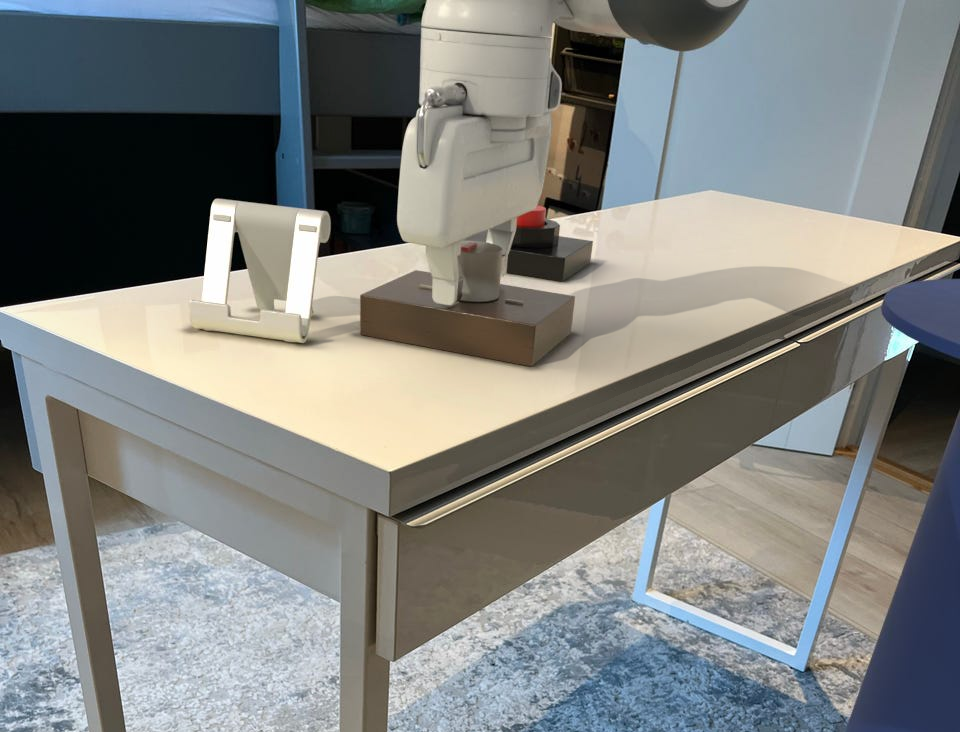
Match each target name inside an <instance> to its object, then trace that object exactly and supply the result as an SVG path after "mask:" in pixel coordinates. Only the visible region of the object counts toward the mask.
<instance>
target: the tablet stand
mask: <svg viewBox="0 0 960 732" xmlns="http://www.w3.org/2000/svg"><path fill="white" fill-rule="evenodd" d="M209 215H210V216H209V225H208V232H207V233H208V234H207V245H206V252H205V253H206V254H205V263H204V275H203V281H202V284H203V285H202V294H201V300H198V299H190V300H189V302H188V307H189V308H188V311H189V312H188V313H189V315H188V316H189V321H190V325H191V327H193V328H194V329H200V330H204V331H209V332H222V333H227V334H229V333H230V334H234V335H235V334H236V335H242V336H250V337H256V338H257V337H258V338H264V339H272V340H279V341H284V342H287V343H300V344H304V343H306V342H307V340H308V338H309V334H310V327H311V326H310V325H311V317H313V316H314V312H315V311H314V308H313V299H314V294H315V293H314V292H315V284H316V275H317V268H318V267H317V266H318V259H319V258H318V257H319V252H320V251H319V250H320V245H321V243H323V244H325V243H327V242H328V241H329V238H330V235H331V229H332V228H331V225H332V223H331V222H332V221H331V216H330V214H329V212H328V211H326V210H320V209H319V210H318V209H310V208H309V209H308V208H300V207H294V206H293V207H292V206H284V205H274V204H268V203H258V202H252V201H251V202H250V201H249V202H248V201H242V200H233V199H225V198H215V199H214V200H213V201H212V203H211V207H210V214H209ZM235 233H237V234H238V238H239V241H240V246H241V250H242V253H243V257H244V262H245V264H246V269H247V273H248V277H249V280H250V285H251V288H252V292H253V295H254V300H255V304H256V307H257V308H258V310H260V311H259V318H251V317H244V316H236V315H232V311H231V306H230V305H229V304H228V296H229V288H230V287H229V285H230V277H231V270H232V269H231V267H232V258H233V248H234V241H235V240H234V239H235ZM276 300H278V301H284V302H285V301H286V302H285V311H279V310H275V301H276Z"/></svg>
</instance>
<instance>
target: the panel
mask: <svg viewBox="0 0 960 732" xmlns="http://www.w3.org/2000/svg"><path fill="white" fill-rule="evenodd" d="M432 284H433V277H432V275H431V272H429V271H423V270H417V269H415V270H413V271H411V272H408V273H406V274H404V275H402V276H399V277H397V278H394V279H393V280H390V281H388V282H386V283H384V284H381V285H379V286H377V287H375V288H373V289H369V290H368V291H366V292H364V293H361V294H360V295H359V315H360V317H359V324H360V325H359V332H360V335H362V336H366V337H372V338H376V339H383V340H387V341H393V342H399V343H402V344H403V343H405V344H410V345H415V346H420V347H425V348H431V349H436V350H442V351H446V352H447V351H448V352H452V353H457V354H462V355H463V354H464V355H468V356H474V357H478V358H484V359H490V360H496V361H501V362H505V363H509V364H510V363H511V364H516V365H523V366H527V367H533V366H534V365H535V364H536V363H537V362H538V361H540V360H541V359H542V358H543V357H544V356H546V355H547V354H549V352H551V351H552V350H553V349H554V348H555V347H557V346H558V345H559V344H561V342H562V341H564V340H565V339H566V338H568V337H569V336H570V335H571V334H572V327H573V319H574V318H573V317H574V311H575V300H576V296H575V295H569V294H564V293H558V292H557V293H556V292H553V291H552V292H551V291H545V290H539V289H533V288H527V287H520V286H516V285H509V284H503V283H500V291H499V297H498V298H497V299H496V300H492V301H486V302H468V301H461V300H459V301H458V302H456V303H454V304H452V305H444V304H438V303H436V302H434V301H433V298H432Z"/></svg>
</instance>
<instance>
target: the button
mask: <svg viewBox="0 0 960 732" xmlns="http://www.w3.org/2000/svg"><path fill="white" fill-rule="evenodd" d="M546 215H547V208H546V207H545V206H542V205H539V204H537V206H536V208H535V209H534V210H533V211H530V212H528V213H526V214H523V215H521V216H519V217H517V225H520V226H544V225H545V219H546Z"/></svg>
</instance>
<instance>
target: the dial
mask: <svg viewBox="0 0 960 732" xmlns="http://www.w3.org/2000/svg"><path fill="white" fill-rule="evenodd" d="M502 252H503V249H502V248H501V247H500V246H498V245H495V244H491V243H486V242H480V241H461V253H460V255H459V256H457V261H458V271H459V277H463V287H462V298H461V299H460V300H461V301H468V302H486V301H492V300H496V299H497V298H498V297H499V291H500V284H501V279H502V277H501V265H502Z"/></svg>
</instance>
